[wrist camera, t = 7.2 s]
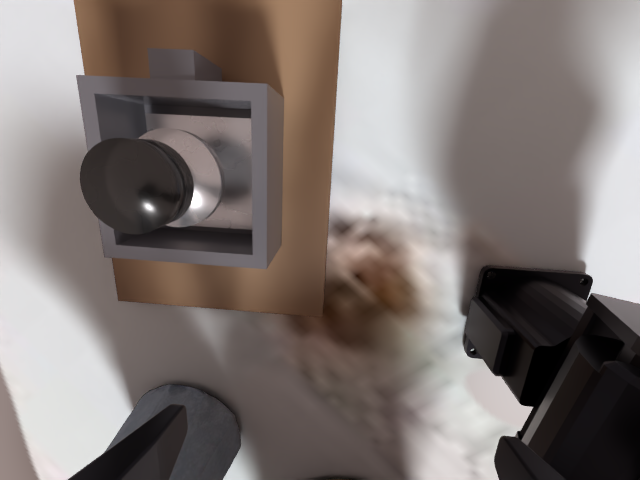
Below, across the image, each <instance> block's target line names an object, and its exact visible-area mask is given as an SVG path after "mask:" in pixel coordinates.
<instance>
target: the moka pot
mask: <svg viewBox="0 0 640 480" xmlns="http://www.w3.org/2000/svg"><path fill="white" fill-rule="evenodd" d="M171 404H181V405H185V406H186V410H187V421H188V431H187V435H186V438H185V440H184V443H183V445H182V448H181V450H180V453H179V456H178V458H177V461H176V463H175V466H174V468H173V471H172V474H171V476H170V479H169V480H223V478H224V476H225V474H226V473H227V471H228V469H229V468H230V466H231V464H232V462H233V460H234V458H235V457H236V455H237V453H238V451H239V449H240V447H241V439H240V433H239V428H238V424H237V421H236V417H235V415H234V414H233V413H232V412H231V411H230V410H229V409H228V408H227V407H226V406H225V405H224V404H223V403H222V402H220V401H219V400H218V399H216V398H214V397H212V396H209V395H208V394H206V393H205V392H203V391H201V390H199V389H196V388H192V387H188V386H183V385H165V386H161V387H160V388H156V389H154V390H150V391H149V392H147V393H146V394H144V395H143V396H142V398H141V399H140V400H139V402H138V403H137V405H136V407H135V408H134V410H133V411H132V412H131V414H130V415H129V417H128V418H127V420H126V421H125V423H124V424H123V426H122V427H121V429H120V430H119V432H118V433H117V435H116V436H115V438H114V439H113V441H112V442H111V444H110V445H109V447H108V448H107V450H109V449H110V448H111V447H113V446H114V445H116V444H117V443H118V442H120V441H121V440H122V439H124V438H125V437H126V436H128V435H129V434H130V433H132V432H133V431H135V430H136V429H137V428H139V427H140V426H141V425H143V424H144V423H145V422H147V421H148V420H150V419H151V418H152V417H154V416H155V415H156V414H158V413H159V412H160V411H162V410H163V409H164V408H166V407H167V406H169V405H171ZM107 450H106V451H107ZM106 451H105V452H106ZM105 452H104V453H105Z"/></svg>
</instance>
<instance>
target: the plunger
mask: <svg viewBox="0 0 640 480" xmlns="http://www.w3.org/2000/svg"><path fill="white" fill-rule="evenodd" d="M145 116H146V126H147V133H145V134H144V135H142V136H141V137H139V138H138V139H132V138H111V139H107V140H104V141H101V142H99V143H97V144H96V145H95V146H93V147H92V148H91V149H90V150H89V152H88V153H87V154H86V156H85V158H84V160H83V163H82V166H81V171H80V183H81V188H82V192H83V195H84V198H85V200H86V202H87V204H88V206H89V207H90V209H91V210H92V211H93V213H94V214H95V215H96V216H97V217H98V218H99V219H100V220H101V221H102V222H103V223H105V224H106V225H108V226H109V227H111V228H113V229H115V230H117V231H120V232H123V233H127V234H144V233H148V232H151V231H153V230H155V229H157V228H160V227H162V226H164V225H167V226H172V227H187V226H203V227H218V228H232V229H247V230H252V144H251V119H249V118H229V117H209V116H190V115H170V114H150V113H145Z"/></svg>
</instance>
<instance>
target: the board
mask: <svg viewBox="0 0 640 480" xmlns="http://www.w3.org/2000/svg"><path fill="white" fill-rule="evenodd" d="M74 5H75V12H76V19H77V26H78V32H79V39H80V46H81V52H82V59H83V66H84V73H85V75H86V76H108V77H130V78H150V71H149V60H148V50H147V48H160V49H185V50H194V51H196V52H197V53H199V54H200V55H202V56H203V57H205V58H206V59H208V60H209V61H211V62H212V63H214V64H215V65H217V66H218V67H220V68H221V69H222V82H242V83H264V84H268V85H269V86H271V87H272V88H273V89H274V90H275V91H276V92H277V93H279V94H280V95H281V96H282V97H283V98H284V138H283V194H282V245H281V247H280V249H279V250H278V252H277V253H276V255H275V257H274V258H273V260H272V262H271V263H270V265H269V266H268V268H267V269H256V268H242V267H229V266H216V265H202V264H189V263H176V262H162V261H149V260H136V259H123V258H112V261H113V268H114V275H115V282H116V288H117V295H118V301H129V302H141V303H153V304H165V305H178V306H190V307H202V308H214V309H226V310H238V311H251V312H263V313H275V314H287V315H299V316H312V317H322V315H323V302H324V286H325V270H326V254H327V238H328V222H329V205H330V189H331V173H332V157H333V141H334V125H335V109H336V92H337V76H338V60H339V44H340V28H341V12H342V0H74Z"/></svg>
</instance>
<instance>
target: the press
mask: <svg viewBox="0 0 640 480" xmlns="http://www.w3.org/2000/svg"><path fill="white" fill-rule="evenodd" d="M147 50H148V60H149V71H150V78H130V77H108V76H86V75H76V77H77V84H78V90H79V97H80V103H81V110H82V116H83V122H84V129H85V135H86V142H87V148H88V152H89V150H90V149H91V148H92V147H93V146H95V145H96V144H97V143H99V142H101V141H104V140H107V139H111V138H132V139H138V138H139V137H141V136H142V135H144V134H145V133H147V126H146V116H145V113H150V114H170V115H190V116H209V117H229V118H249V119H251V144H252V230H247V229H232V228H218V227H203V226H187V227H172V226H167V225H164V226H162V227H160V228H157V229H155V230H153V231H151V232H148V233H144V234H127V233H123V232H120V231H117V230H115V229H113V228H111V227H109V226H108V225H106V224H105V223H103V222H102V221H101V220H100V219H99V218H98V219H99V225H100V232H101V238H102V244H103V251H104V257H109V258H123V259H136V260H149V261H162V262H176V263H189V264H202V265H216V266H229V267H242V268H256V269H267V268H268V266H269V265H270V263H271V262H272V260H273V258H274V257H275V255H276V253H277V252H278V250H279V249H280V247H281V245H282V194H283V138H284V98H283V97H282V96H281V95H280V94H279V93H277V92H276V91H275V90H274V89H273V88H272V87H271V86H269V85H268V84H264V83H242V82H222V69H221V68H220V67H218V66H217V65H215V64H214V63H212V62H211V61H209V60H208V59H206V58H205V57H203V56H202V55H200V54H199V53H197V52H196V51H194V50H185V49H160V48H147Z"/></svg>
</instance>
